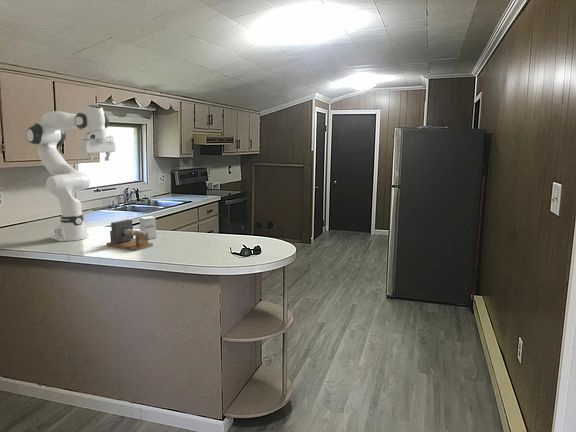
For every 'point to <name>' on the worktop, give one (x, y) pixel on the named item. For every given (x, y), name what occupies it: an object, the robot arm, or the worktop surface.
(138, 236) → the pipe stand
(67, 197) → the robot arm
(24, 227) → the worktop surface
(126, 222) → the grey flat block
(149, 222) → the supplement box
